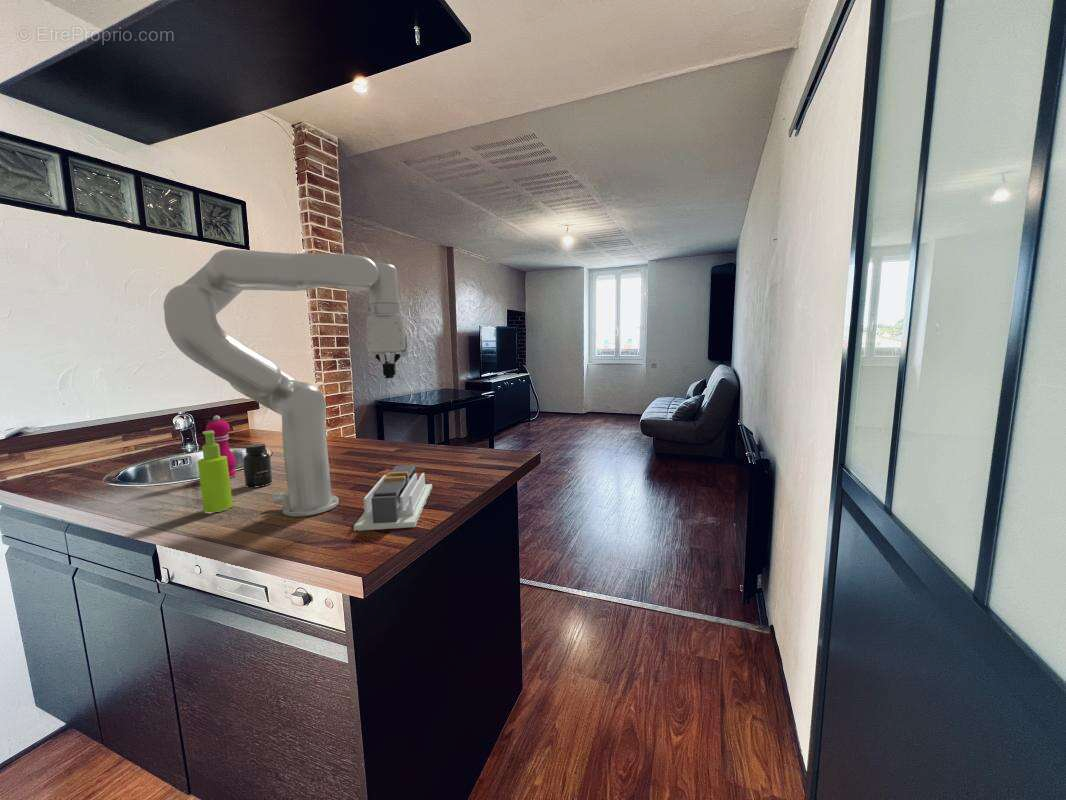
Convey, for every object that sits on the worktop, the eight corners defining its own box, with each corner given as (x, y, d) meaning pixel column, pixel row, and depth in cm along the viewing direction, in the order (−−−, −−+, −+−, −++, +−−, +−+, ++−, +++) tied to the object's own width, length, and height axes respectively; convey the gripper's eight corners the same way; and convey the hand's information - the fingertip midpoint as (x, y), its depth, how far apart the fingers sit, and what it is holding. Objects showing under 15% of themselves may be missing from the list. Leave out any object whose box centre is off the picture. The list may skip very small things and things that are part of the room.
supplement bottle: (263, 488, 123) (258, 448, 121) (240, 488, 123) (235, 448, 121) (277, 480, 130) (273, 442, 128) (255, 481, 130) (251, 443, 128)
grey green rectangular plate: (387, 479, 105) (386, 473, 105) (396, 469, 115) (395, 463, 115) (407, 478, 106) (407, 472, 106) (415, 468, 116) (414, 462, 116)
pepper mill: (223, 481, 131) (215, 417, 128) (203, 480, 132) (195, 417, 129) (243, 474, 138) (236, 413, 135) (224, 473, 139) (217, 413, 136)
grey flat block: (373, 497, 94) (372, 490, 93) (385, 483, 103) (384, 476, 103) (396, 496, 94) (396, 489, 94) (405, 482, 104) (405, 475, 104)
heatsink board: (354, 530, 92) (351, 500, 91) (384, 490, 118) (383, 466, 117) (415, 527, 93) (413, 496, 92) (432, 488, 119) (430, 464, 118)
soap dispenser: (229, 502, 112) (220, 428, 109) (235, 508, 107) (225, 431, 105) (202, 508, 108) (191, 431, 105) (206, 515, 103) (195, 435, 100)
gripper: (352, 310, 111) (357, 380, 114) (410, 309, 113) (414, 378, 115) (361, 312, 119) (366, 378, 121) (415, 311, 120) (419, 376, 122)
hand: (389, 377), depth 118 cm, fingers closed
